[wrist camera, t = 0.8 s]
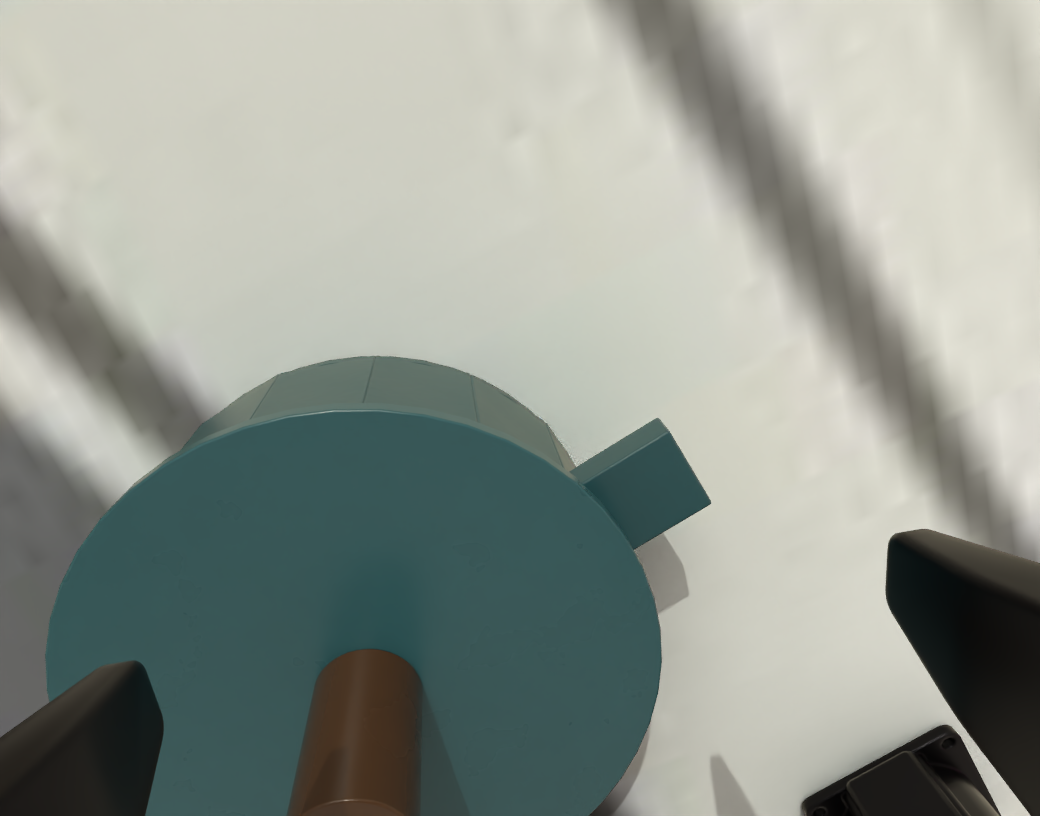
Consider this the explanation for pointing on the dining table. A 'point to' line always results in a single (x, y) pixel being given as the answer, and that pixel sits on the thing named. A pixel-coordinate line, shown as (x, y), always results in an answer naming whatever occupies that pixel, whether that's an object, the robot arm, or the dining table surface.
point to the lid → (369, 621)
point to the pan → (409, 382)
